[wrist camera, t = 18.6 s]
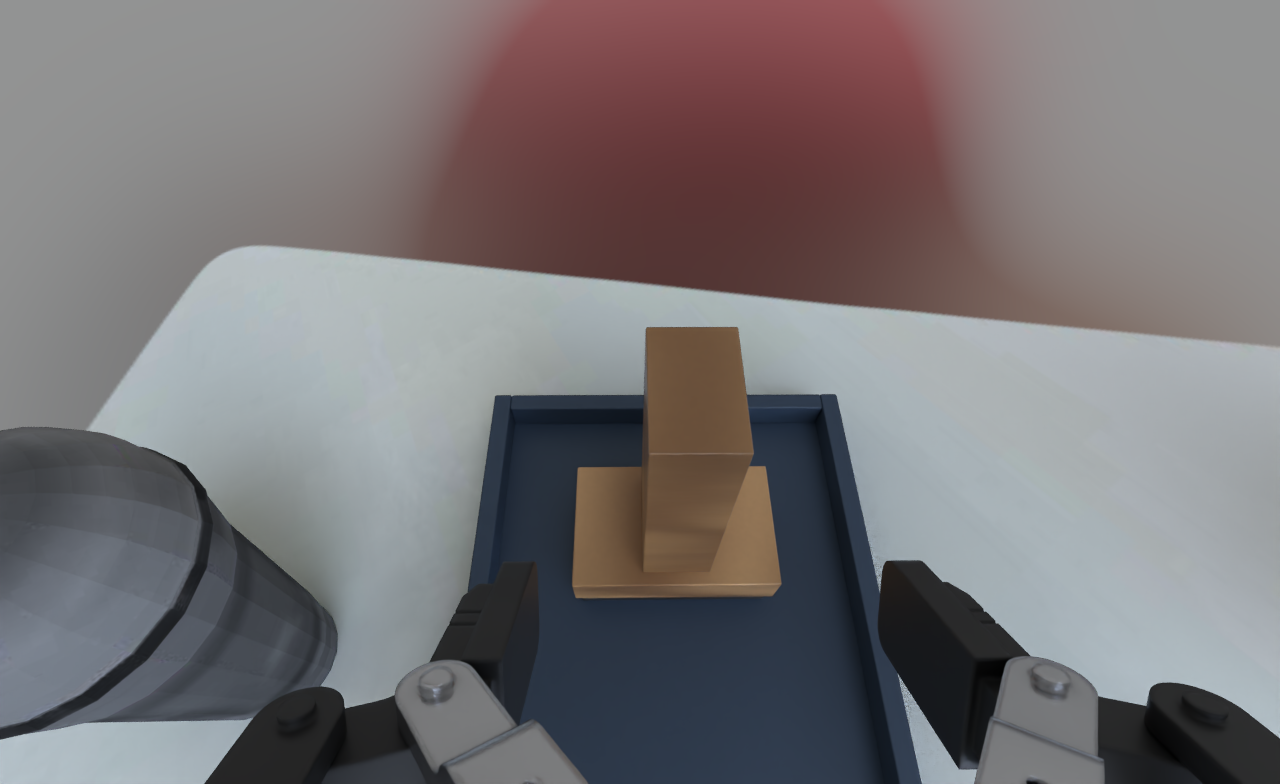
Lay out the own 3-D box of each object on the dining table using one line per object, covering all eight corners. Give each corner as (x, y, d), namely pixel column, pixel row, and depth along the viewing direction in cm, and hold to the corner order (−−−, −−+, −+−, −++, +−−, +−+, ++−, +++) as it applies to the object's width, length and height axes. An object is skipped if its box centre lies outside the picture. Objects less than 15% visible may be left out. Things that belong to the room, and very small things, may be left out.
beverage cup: (403, 667, 25) (-92, 423, 8) (222, 807, 22) (-1106, 894, 5) (326, 534, 28) (-151, 148, 11) (159, 643, 25) (-816, 360, 8)
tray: (824, 415, 31) (836, 393, 29) (960, 1080, 18) (994, 1112, 17) (503, 416, 31) (495, 394, 29) (415, 1090, 18) (391, 1125, 16)
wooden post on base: (753, 493, 28) (831, 312, 17) (767, 604, 26) (868, 472, 15) (582, 494, 28) (550, 313, 17) (577, 605, 25) (536, 473, 14)
